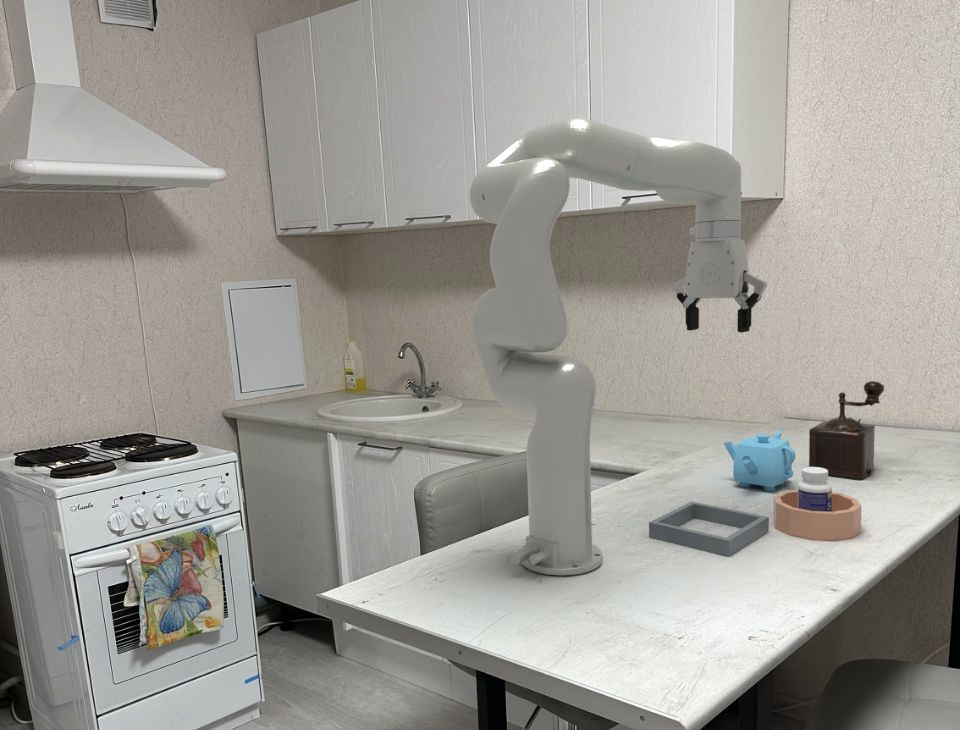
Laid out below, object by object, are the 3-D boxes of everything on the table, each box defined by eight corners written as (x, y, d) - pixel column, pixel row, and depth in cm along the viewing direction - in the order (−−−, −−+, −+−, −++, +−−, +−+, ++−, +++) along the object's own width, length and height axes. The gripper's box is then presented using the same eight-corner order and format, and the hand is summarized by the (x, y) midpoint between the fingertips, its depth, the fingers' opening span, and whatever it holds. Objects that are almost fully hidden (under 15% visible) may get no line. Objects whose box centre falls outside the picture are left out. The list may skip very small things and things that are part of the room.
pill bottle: (834, 527, 128) (835, 474, 127) (800, 526, 130) (800, 474, 128) (827, 516, 134) (828, 465, 132) (794, 516, 135) (795, 465, 134)
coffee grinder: (865, 481, 156) (867, 391, 153) (807, 473, 163) (808, 387, 160) (884, 464, 168) (887, 380, 165) (829, 457, 175) (831, 377, 172)
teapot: (777, 501, 146) (777, 448, 144) (705, 489, 155) (705, 438, 153) (811, 479, 159) (812, 429, 158) (743, 468, 168) (743, 422, 167)
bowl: (842, 546, 123) (842, 518, 122) (761, 528, 131) (761, 503, 131) (870, 524, 132) (871, 498, 131) (793, 509, 141) (793, 485, 140)
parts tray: (729, 556, 120) (729, 540, 120) (649, 536, 130) (648, 522, 129) (768, 531, 130) (768, 517, 130) (691, 515, 140) (691, 501, 139)
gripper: (662, 235, 141) (663, 331, 143) (755, 230, 129) (754, 334, 131) (684, 235, 146) (684, 327, 148) (775, 230, 134) (774, 330, 136)
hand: (717, 330), depth 140 cm, fingers open, 9 cm apart
